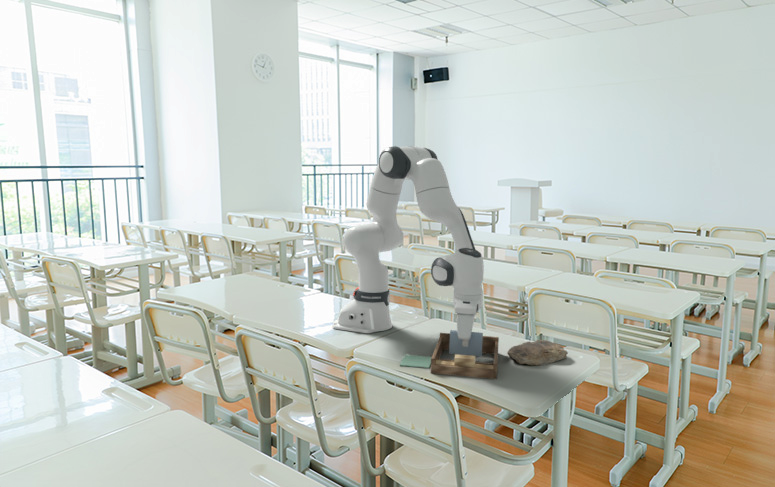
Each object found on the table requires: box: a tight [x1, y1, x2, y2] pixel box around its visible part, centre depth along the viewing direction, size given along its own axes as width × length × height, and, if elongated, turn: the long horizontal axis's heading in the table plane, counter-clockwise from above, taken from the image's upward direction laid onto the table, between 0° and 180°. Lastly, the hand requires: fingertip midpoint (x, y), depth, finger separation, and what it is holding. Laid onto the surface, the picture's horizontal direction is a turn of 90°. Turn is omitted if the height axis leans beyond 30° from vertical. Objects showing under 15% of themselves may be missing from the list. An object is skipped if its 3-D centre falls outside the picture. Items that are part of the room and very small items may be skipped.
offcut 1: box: [435, 360, 454, 366], centre depth 163 cm, size 6×3×2 cm, turn 77°
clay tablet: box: [506, 339, 569, 366], centre depth 174 cm, size 14×5×20 cm
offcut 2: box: [475, 364, 494, 369], centre depth 160 cm, size 6×3×2 cm, turn 78°
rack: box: [430, 332, 500, 380], centre depth 168 cm, size 19×22×6 cm
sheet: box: [448, 329, 484, 358], centre depth 170 cm, size 10×2×7 cm, turn 77°
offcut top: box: [453, 354, 477, 368], centre depth 161 cm, size 6×3×2 cm, turn 79°
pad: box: [399, 354, 432, 369], centre depth 169 cm, size 9×9×1 cm
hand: (465, 344), depth 170 cm, fingers closed on sheet, 2 cm apart
